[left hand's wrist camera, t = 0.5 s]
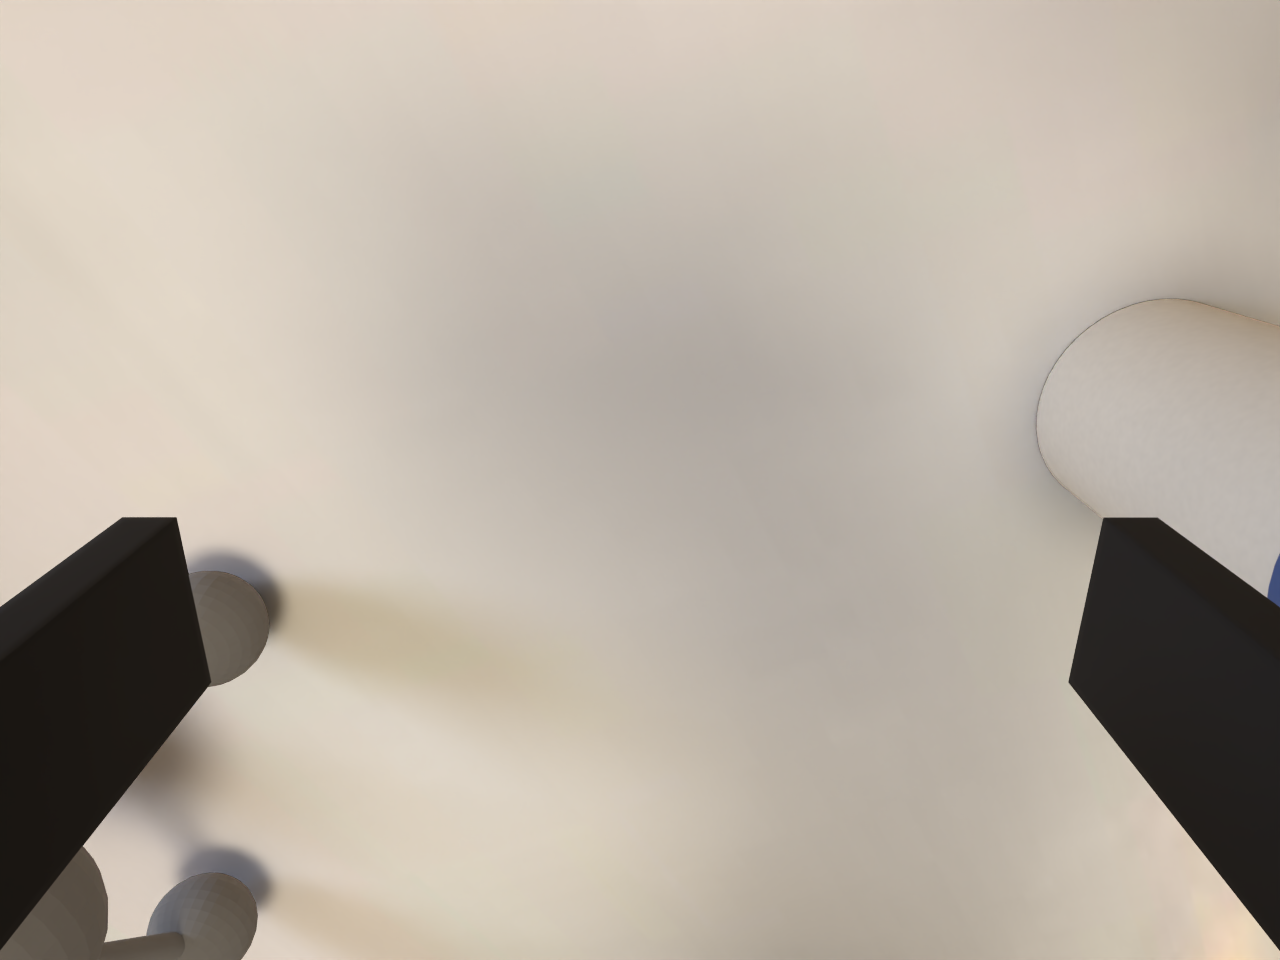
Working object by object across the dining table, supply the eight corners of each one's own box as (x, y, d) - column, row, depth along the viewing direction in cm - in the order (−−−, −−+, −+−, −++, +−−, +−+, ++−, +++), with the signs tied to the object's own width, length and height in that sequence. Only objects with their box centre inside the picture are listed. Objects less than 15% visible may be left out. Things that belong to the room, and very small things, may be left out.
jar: (1015, 502, 42) (1264, 743, 26) (1063, 292, 39) (1391, 412, 22) (1220, 512, 43) (1602, 758, 26) (1287, 304, 39) (1785, 432, 22)
